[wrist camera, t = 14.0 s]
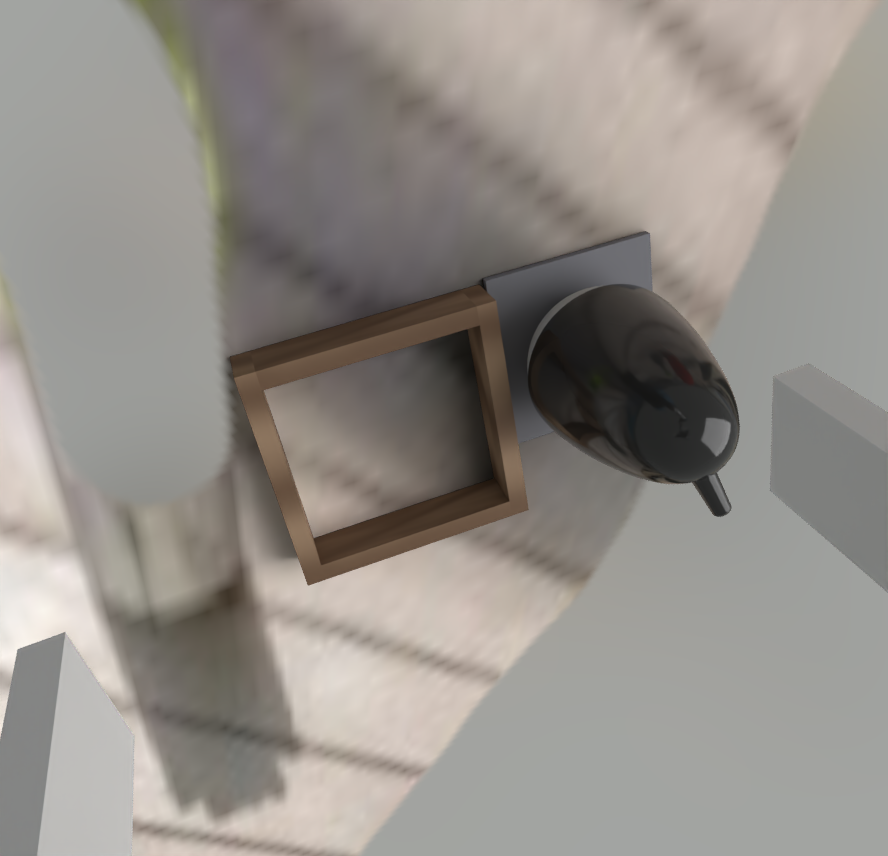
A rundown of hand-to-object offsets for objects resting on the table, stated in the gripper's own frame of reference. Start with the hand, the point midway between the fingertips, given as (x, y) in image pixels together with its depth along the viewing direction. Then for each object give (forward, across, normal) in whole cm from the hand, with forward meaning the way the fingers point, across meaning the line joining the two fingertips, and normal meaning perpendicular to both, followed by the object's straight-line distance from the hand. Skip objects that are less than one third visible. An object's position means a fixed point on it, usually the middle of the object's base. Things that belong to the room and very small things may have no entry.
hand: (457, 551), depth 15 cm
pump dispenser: (+33, +16, -16) cm, 40 cm away
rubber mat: (+33, +16, -16) cm, 40 cm away
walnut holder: (+33, +2, -18) cm, 38 cm away
